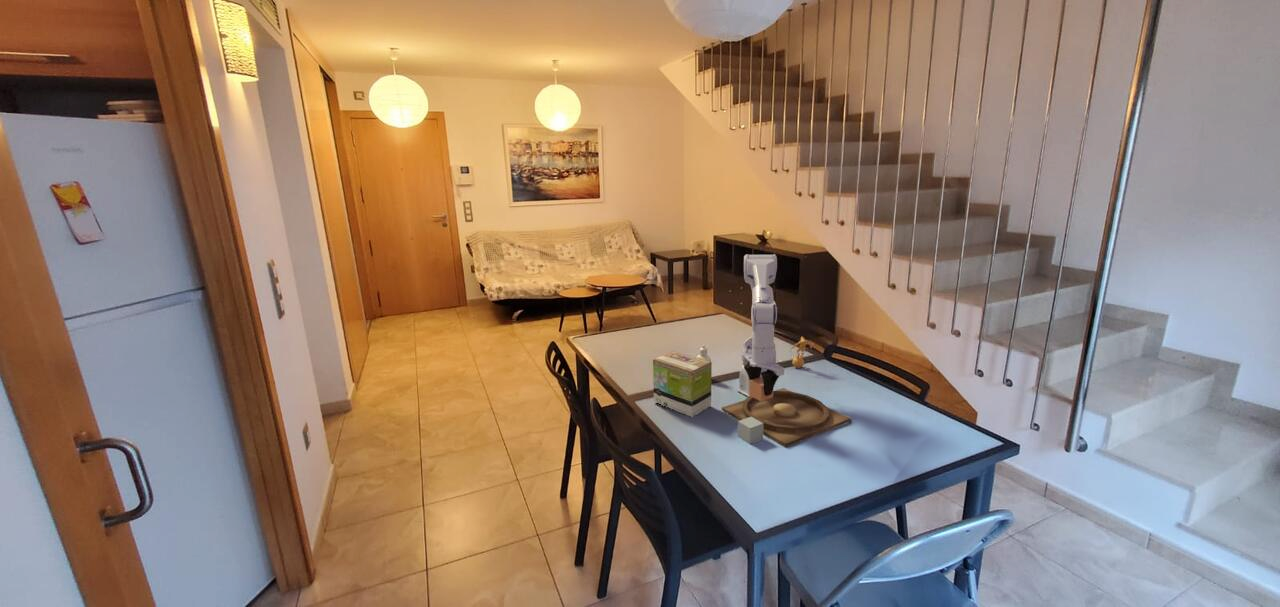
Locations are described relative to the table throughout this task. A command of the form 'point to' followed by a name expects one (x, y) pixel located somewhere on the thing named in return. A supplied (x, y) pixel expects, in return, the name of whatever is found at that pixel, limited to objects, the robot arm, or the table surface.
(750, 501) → the table surface
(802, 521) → the table surface
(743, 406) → the groove tray
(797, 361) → the figurine
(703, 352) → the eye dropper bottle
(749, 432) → the grey cube
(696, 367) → the tea box
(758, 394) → the orange cube
